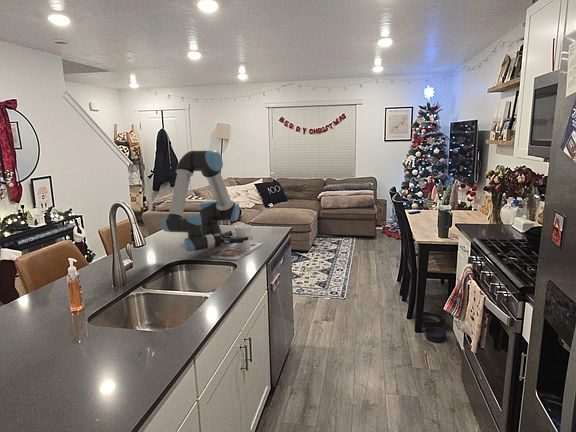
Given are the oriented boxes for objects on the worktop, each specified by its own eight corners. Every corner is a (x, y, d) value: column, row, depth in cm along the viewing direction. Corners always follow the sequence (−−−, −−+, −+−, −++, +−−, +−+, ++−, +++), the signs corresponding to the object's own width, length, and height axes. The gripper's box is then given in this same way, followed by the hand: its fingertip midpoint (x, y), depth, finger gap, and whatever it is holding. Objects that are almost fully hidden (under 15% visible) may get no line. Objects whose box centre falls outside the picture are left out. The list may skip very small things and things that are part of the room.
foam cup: (233, 249, 224) (231, 227, 221) (240, 245, 232) (239, 224, 230) (247, 250, 220) (246, 228, 218) (254, 246, 229) (253, 225, 226)
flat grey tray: (238, 243, 237) (238, 241, 236) (262, 245, 231) (262, 243, 231) (211, 257, 209) (210, 255, 208) (237, 260, 203) (236, 258, 202)
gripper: (205, 242, 226) (238, 236, 237) (221, 252, 205) (257, 245, 216) (204, 230, 225) (237, 225, 235) (221, 238, 204) (256, 232, 215)
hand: (247, 234), depth 226 cm, fingers open, 13 cm apart
